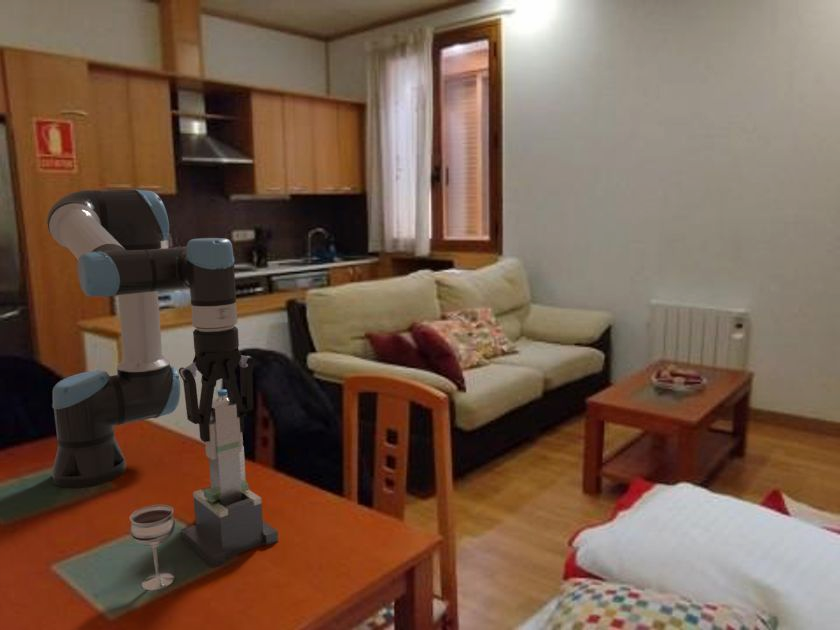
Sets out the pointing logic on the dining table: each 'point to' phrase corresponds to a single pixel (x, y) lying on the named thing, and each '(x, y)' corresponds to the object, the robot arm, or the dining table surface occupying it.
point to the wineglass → (153, 538)
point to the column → (225, 456)
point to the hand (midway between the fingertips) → (223, 453)
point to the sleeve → (227, 528)
